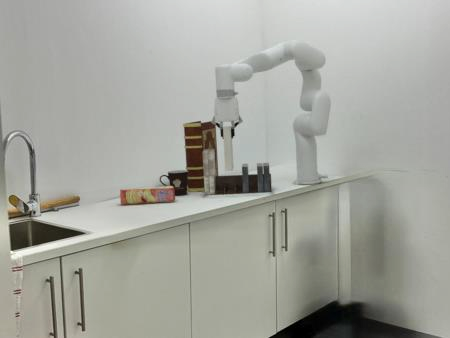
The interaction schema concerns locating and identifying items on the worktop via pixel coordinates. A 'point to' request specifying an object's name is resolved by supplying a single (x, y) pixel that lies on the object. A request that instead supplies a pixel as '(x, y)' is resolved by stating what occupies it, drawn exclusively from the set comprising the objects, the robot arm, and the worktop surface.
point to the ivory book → (228, 148)
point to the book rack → (234, 178)
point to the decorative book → (198, 151)
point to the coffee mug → (178, 181)
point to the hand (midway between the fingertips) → (227, 138)
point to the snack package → (147, 195)
